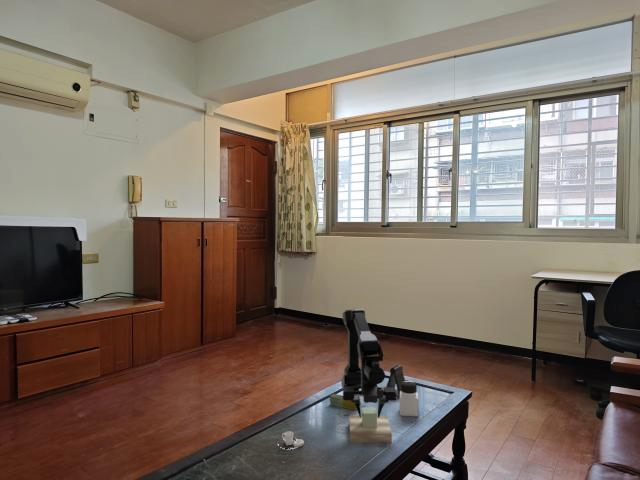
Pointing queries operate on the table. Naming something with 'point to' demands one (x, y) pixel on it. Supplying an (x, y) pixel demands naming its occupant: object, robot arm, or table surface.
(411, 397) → the medicine bottle
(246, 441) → the table surface
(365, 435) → the base block
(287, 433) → the teacup and saucer
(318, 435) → the table surface
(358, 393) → the robot arm
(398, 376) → the phone stand
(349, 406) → the medication box
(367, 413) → the green cube
